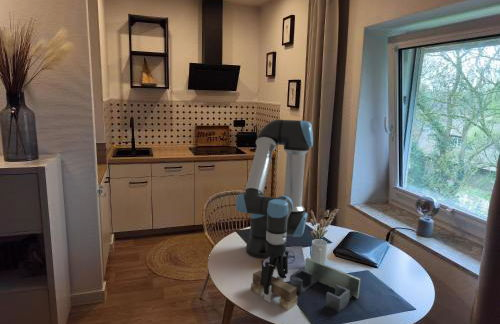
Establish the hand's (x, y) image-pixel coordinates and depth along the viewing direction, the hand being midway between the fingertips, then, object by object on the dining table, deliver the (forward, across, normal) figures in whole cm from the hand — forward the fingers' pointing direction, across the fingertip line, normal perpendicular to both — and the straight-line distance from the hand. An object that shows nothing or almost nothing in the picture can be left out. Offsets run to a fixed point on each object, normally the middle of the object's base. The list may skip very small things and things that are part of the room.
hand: (273, 296), depth 135 cm
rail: (-3, 0, 0) cm, 3 cm away
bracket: (0, +16, -12) cm, 20 cm away
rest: (0, 0, 0) cm, 0 cm away
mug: (0, +31, -1) cm, 31 cm away
